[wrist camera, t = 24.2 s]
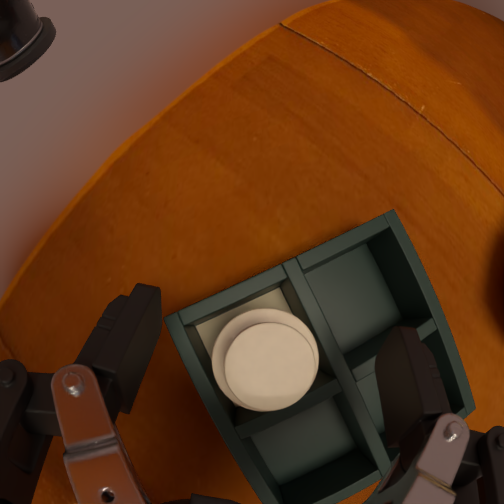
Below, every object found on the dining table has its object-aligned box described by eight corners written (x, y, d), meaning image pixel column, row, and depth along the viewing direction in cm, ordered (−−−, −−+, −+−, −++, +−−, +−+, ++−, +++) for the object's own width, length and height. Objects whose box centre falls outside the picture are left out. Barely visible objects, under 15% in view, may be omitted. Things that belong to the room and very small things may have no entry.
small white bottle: (240, 397, 18) (240, 445, 10) (208, 331, 19) (185, 336, 11) (307, 365, 18) (351, 391, 10) (275, 299, 19) (300, 283, 11)
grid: (272, 494, 17) (279, 528, 13) (179, 318, 19) (162, 317, 15) (440, 397, 19) (476, 408, 14) (366, 230, 21) (393, 208, 17)
